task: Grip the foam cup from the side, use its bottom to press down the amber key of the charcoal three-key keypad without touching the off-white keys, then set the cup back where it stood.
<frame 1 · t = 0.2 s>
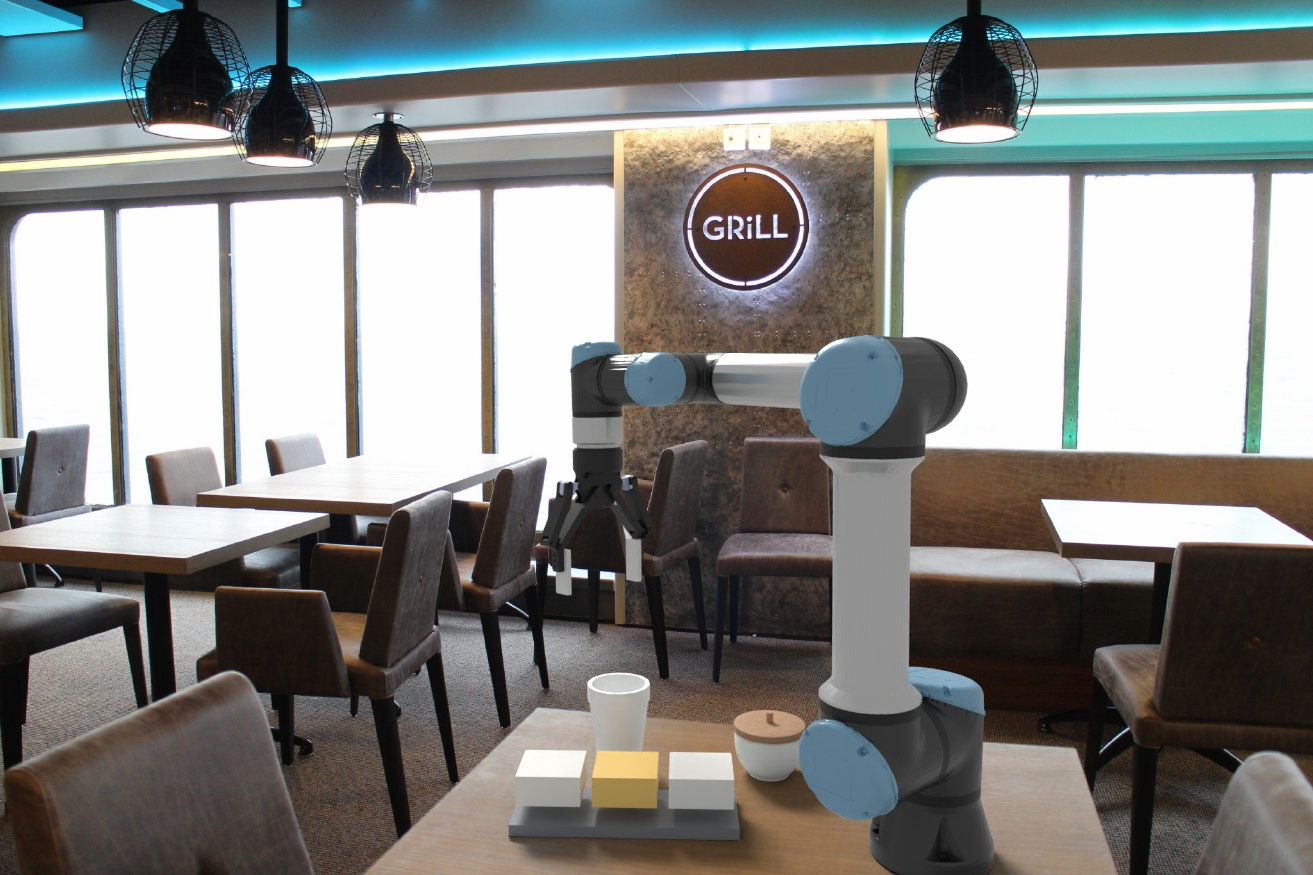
hand: (599, 587, 147), 27 cm above the table, tool pointing down, fingers open, 13 cm apart
foam cup: (618, 767, 149), on the table
keypad base: (626, 817, 132), on the table
key 2: (700, 779, 132), point 6 cm above the table, slide at 0.0 cm
amber key: (626, 778, 132), point 6 cm above the table, slide at 0.0 cm
key 1: (552, 777, 132), point 6 cm above the table, slide at 0.0 cm
lidded jar: (768, 774, 147), on the table
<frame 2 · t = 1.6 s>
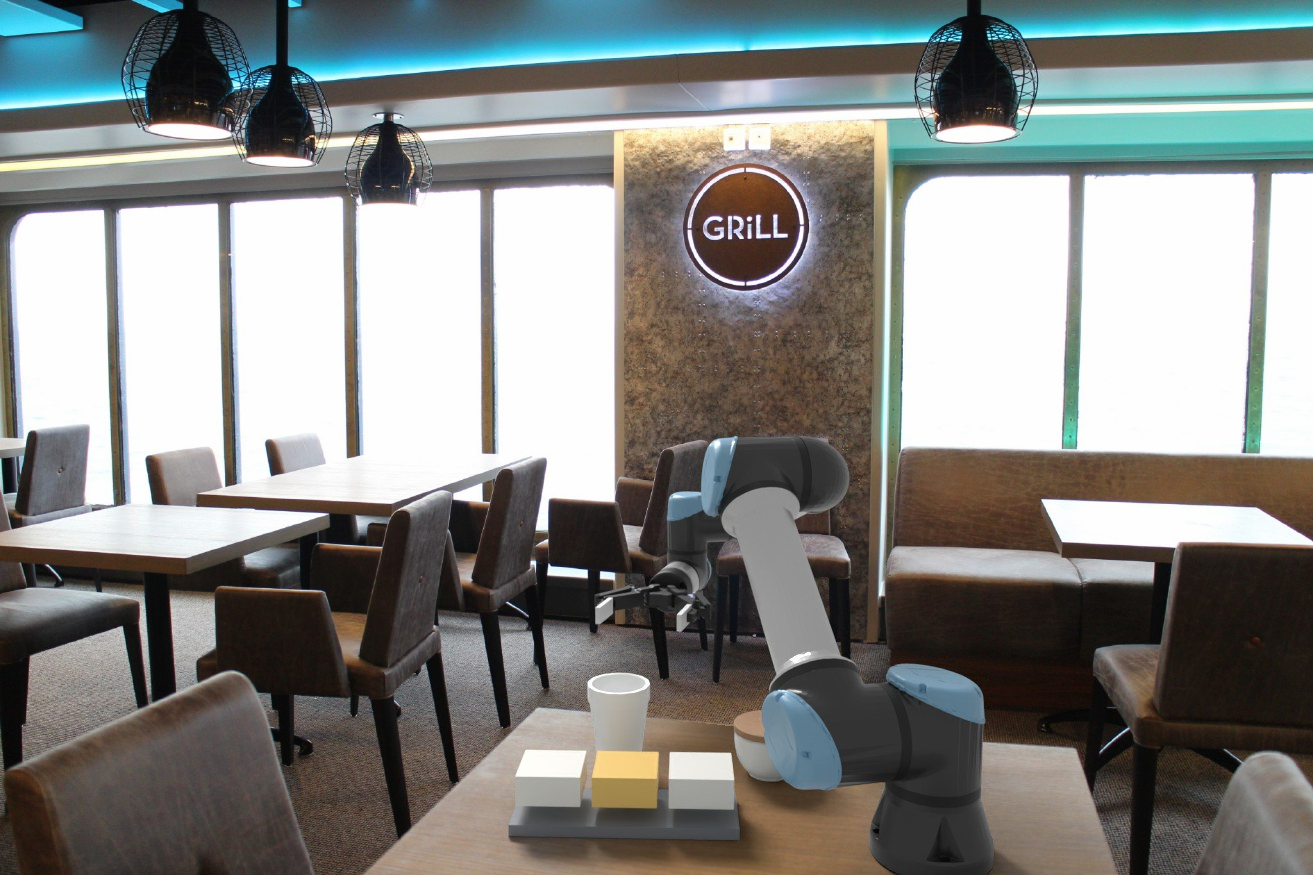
hand: (637, 619, 156), 20 cm above the table, tool horizontal, fingers open, 13 cm apart
nothing on the table moved.
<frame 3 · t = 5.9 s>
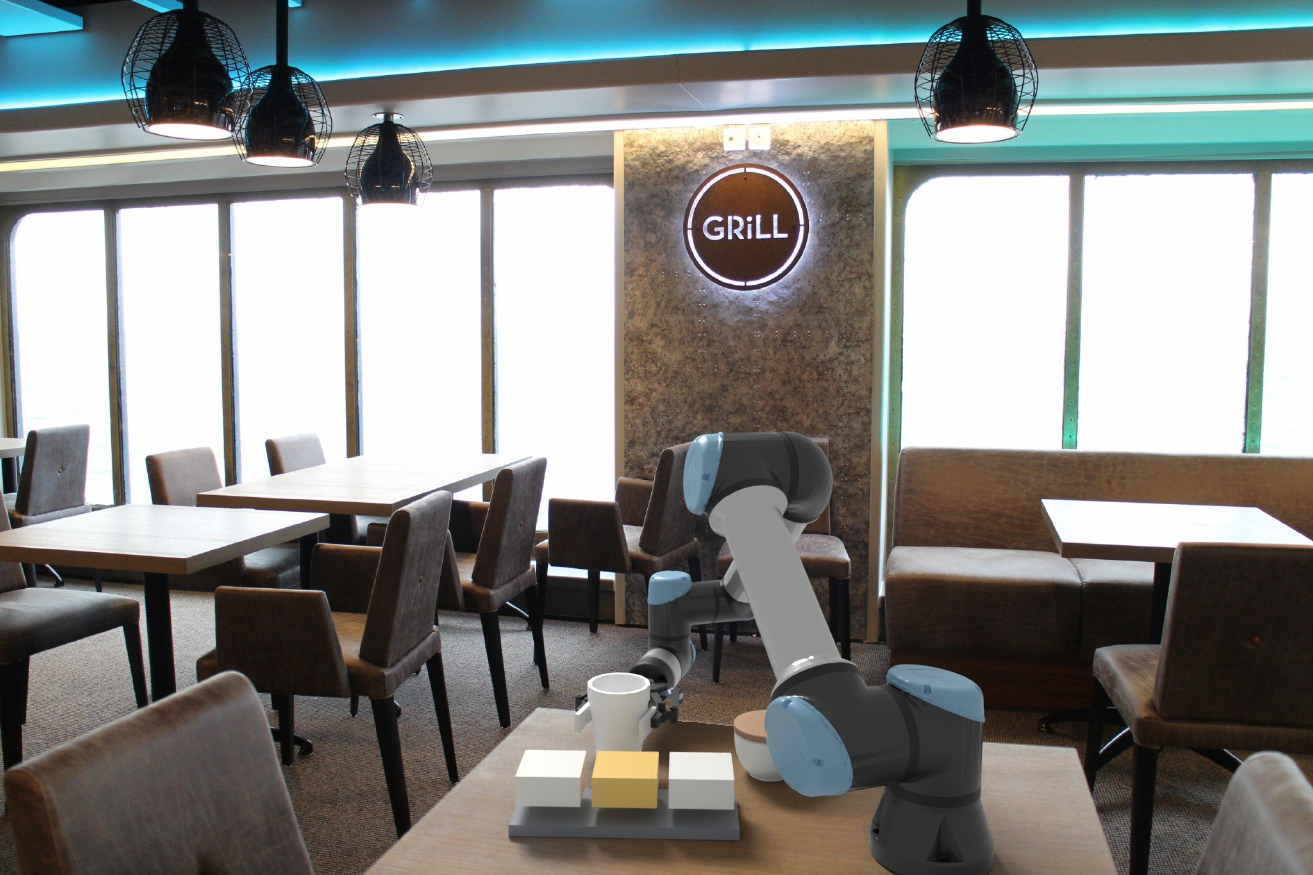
hand: (608, 727, 144), 8 cm above the table, tool horizontal, fingers closed on foam cup, 9 cm apart
foam cup: (618, 767, 149), on the table, touching gripper
everything else where it was.
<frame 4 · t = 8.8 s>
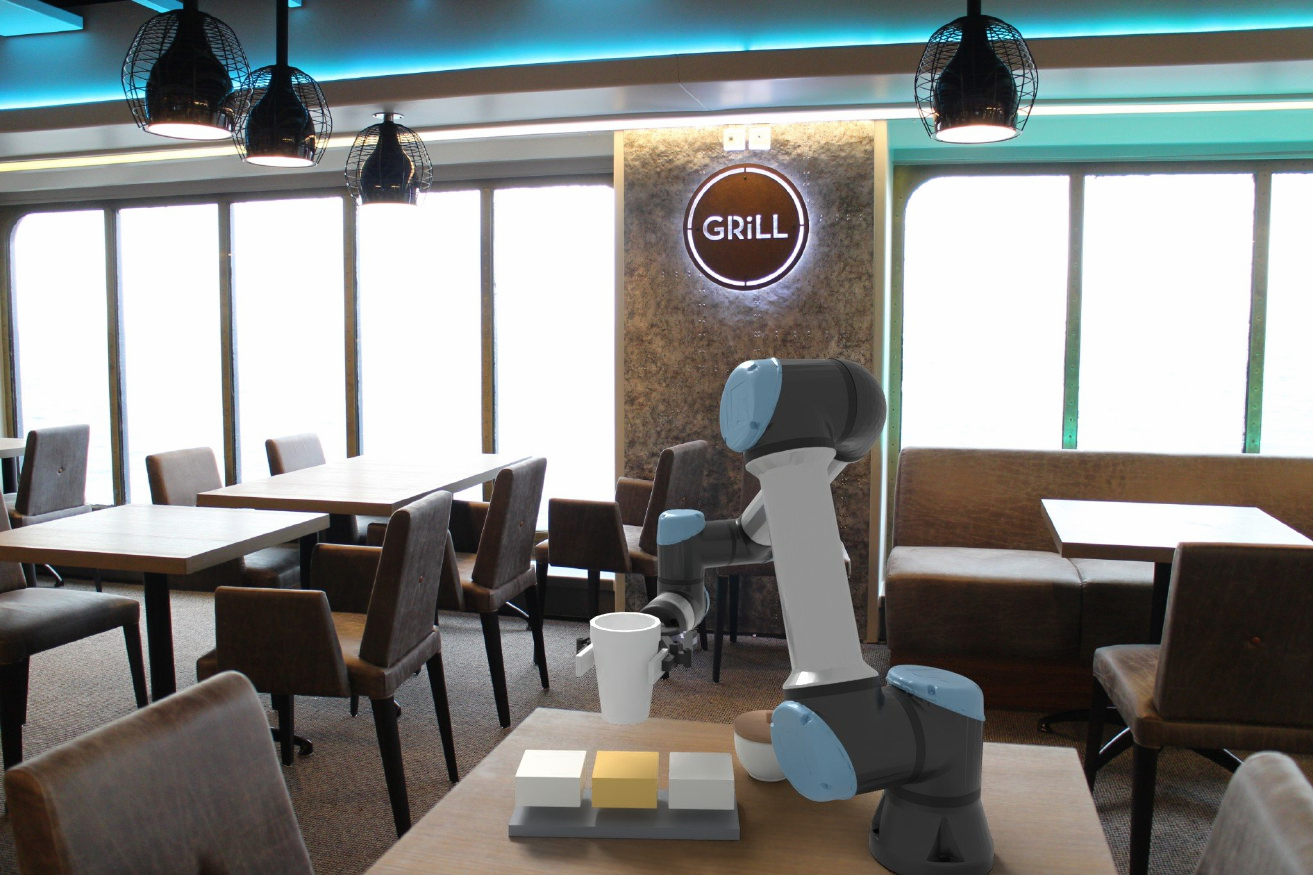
hand: (614, 669, 127), 22 cm above the table, tool horizontal, fingers closed on foam cup, 9 cm apart
foam cup: (625, 717, 132), point 14 cm above the table, touching gripper
everything else where it was.
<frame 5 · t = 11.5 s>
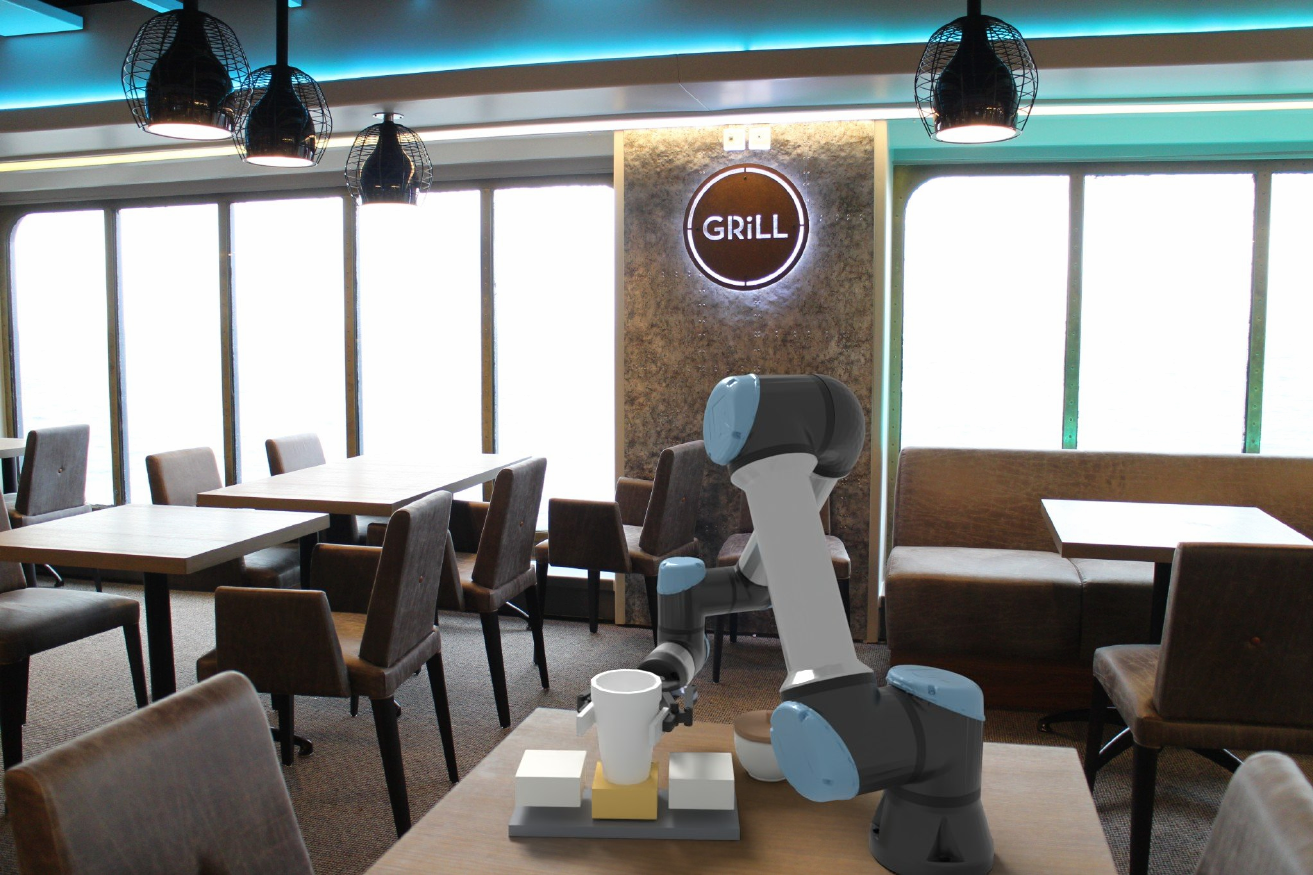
hand: (615, 731, 127), 14 cm above the table, tool horizontal, fingers closed on foam cup, 9 cm apart
foam cup: (626, 775, 132), point 6 cm above the table, touching amber key, gripper
amber key: (626, 789, 132), point 4 cm above the table, slide at 1.5 cm, touching foam cup
everything else where it was.
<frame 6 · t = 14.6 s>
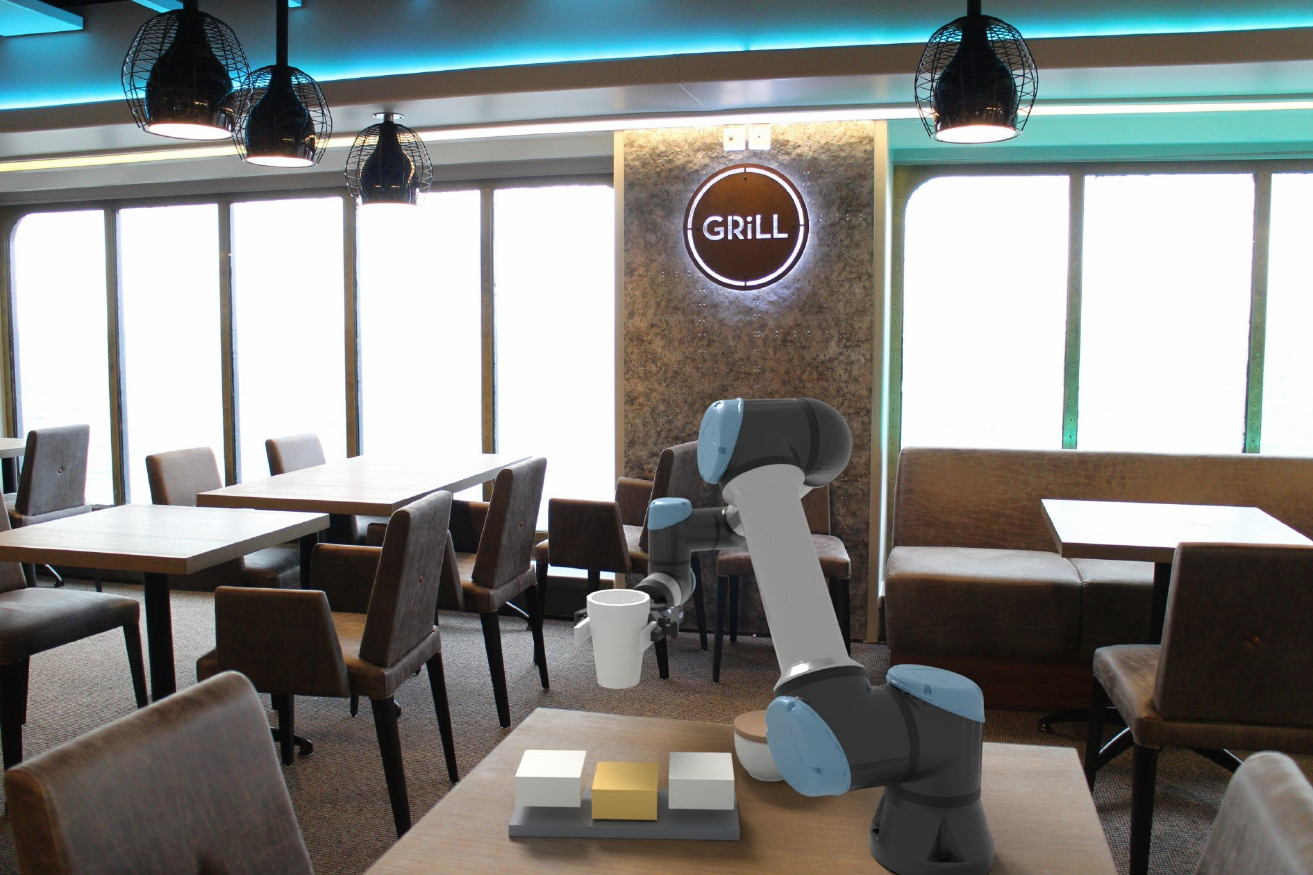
hand: (608, 639, 143), 21 cm above the table, tool horizontal, fingers closed on foam cup, 9 cm apart
foam cup: (618, 682, 148), point 13 cm above the table, touching gripper
amber key: (626, 789, 132), point 4 cm above the table, slide at 1.6 cm
everything else where it was.
when the fingers open (9 cm above the table, at t = 17.1 s): foam cup drops 1 cm, on the table.
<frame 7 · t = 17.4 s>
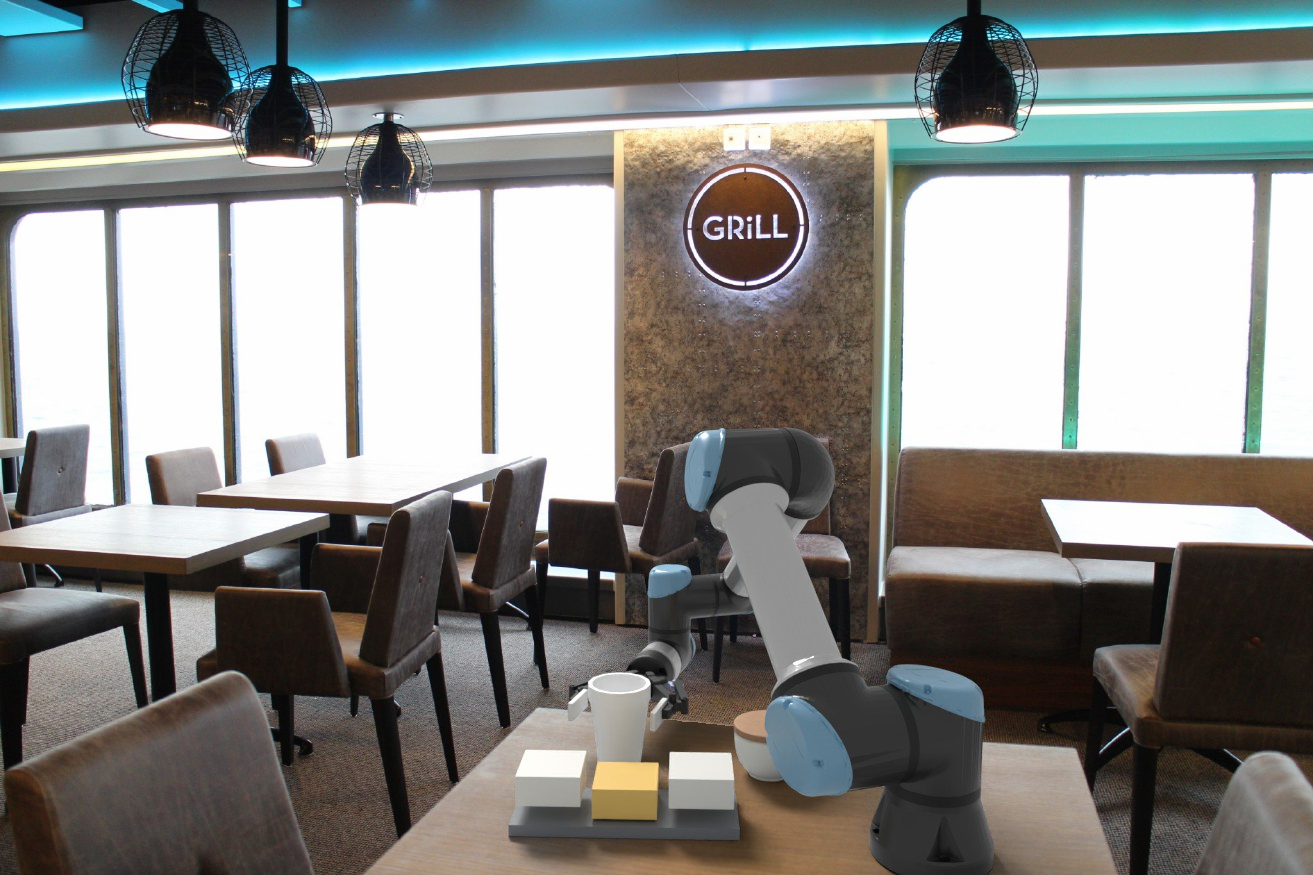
hand: (610, 717, 144), 9 cm above the table, tool horizontal, fingers open, 12 cm apart
foam cup: (619, 767, 149), on the table
everything else where it was.
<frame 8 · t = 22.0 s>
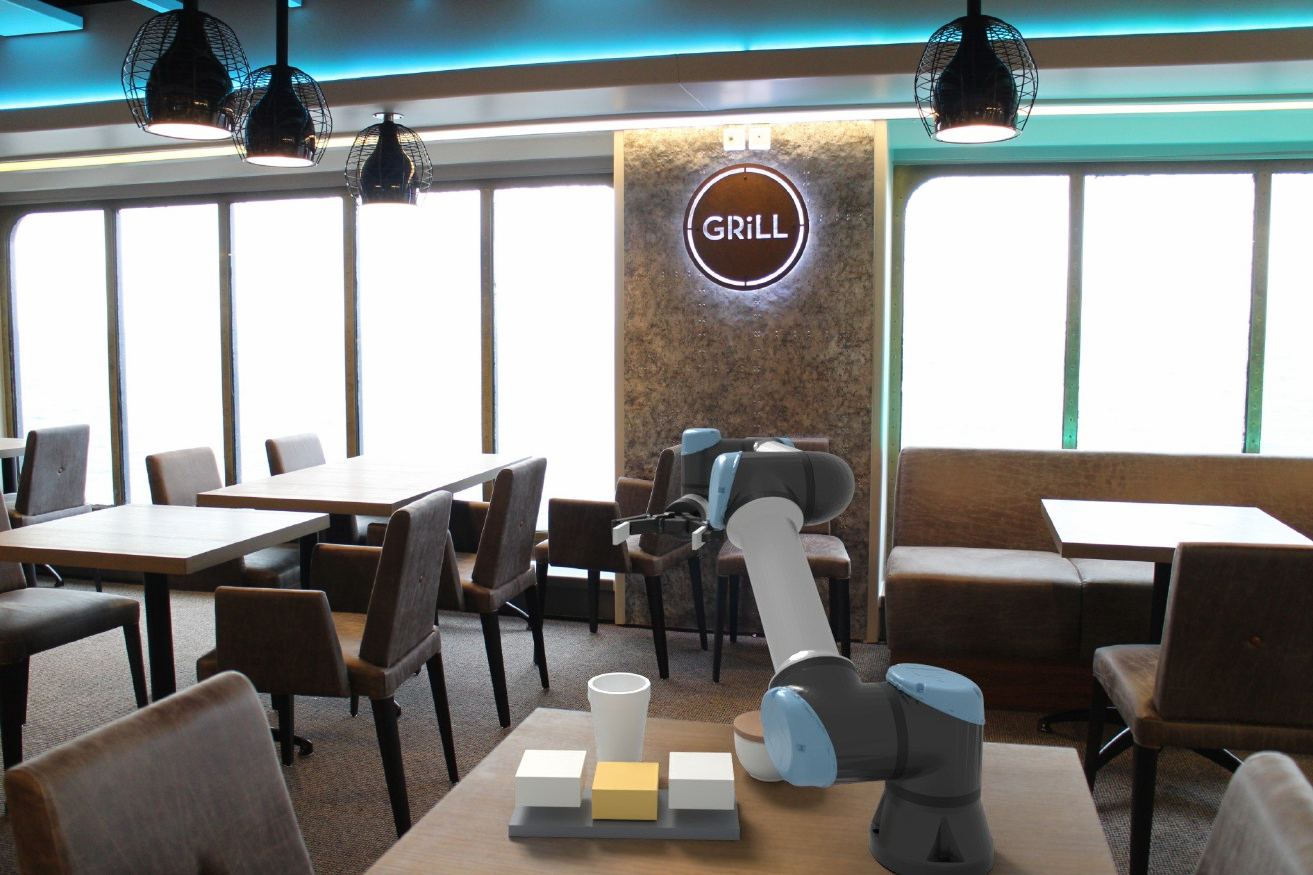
hand: (654, 539, 161), 32 cm above the table, tool horizontal, fingers open, 13 cm apart
nothing on the table moved.
at the end: amber key slide at 1.6 cm; key 2 slide at 0.0 cm; key 1 slide at 0.0 cm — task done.
